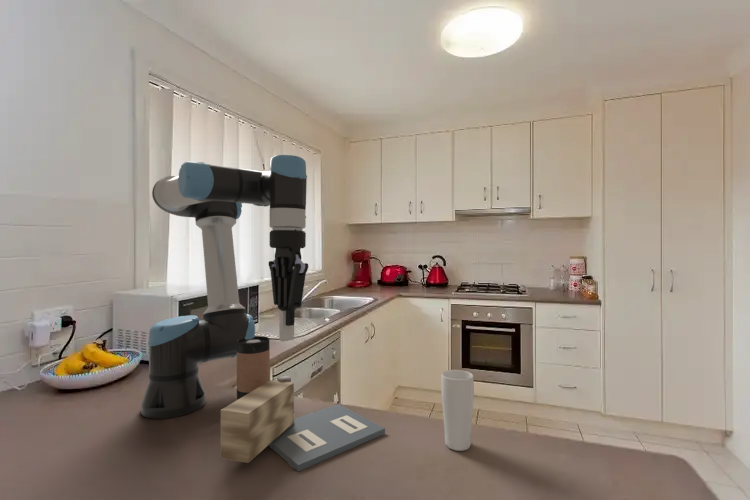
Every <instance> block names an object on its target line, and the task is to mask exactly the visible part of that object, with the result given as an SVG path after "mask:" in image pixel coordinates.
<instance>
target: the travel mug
mask: <svg viewBox="0 0 750 500" xmlns="http://www.w3.org/2000/svg"><path fill="white" fill-rule="evenodd" d="M270 360H271V359H270V338H269V337H267V336H263V335H261V336H260V335H255V337H254V338H252V339H245V338H241V339H239V340H237V356H236V400H238V399H240V398H242V397H243V396H245V395H247V394H248V393H250V392H252V391H253V390H255V389H257V388H258V387H260V386H262V385H263V384H265V383H267V382H268V381H270V380H271V366H270V364H271V363H270Z"/></svg>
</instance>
